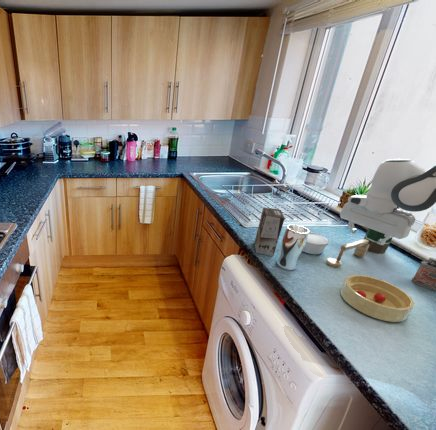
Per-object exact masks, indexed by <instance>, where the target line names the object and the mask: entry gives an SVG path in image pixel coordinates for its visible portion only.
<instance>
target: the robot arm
mask: <svg viewBox="0 0 436 430" xmlns="http://www.w3.org/2000/svg"><path fill="white" fill-rule="evenodd" d="M435 204H436V164H434V165H433V166H431V167H430V168H429V169H425V168H423V167H421V166H420V165H419V164H418V163H416V162H415V161H414V160H413V159H410V158H390V159H385V160H384V161H382V162H381V163H380V164H379V165H378V167H377V169H376V171H375V173H374V175H373V177H372V180H371V186H370V187H369V189H368V191H367V192H366V194H355V195H351V196H348V198H347V202H346V203H344V205H343V206H342V208H341V210H340V212H339V216H340V218H341V219H342V220H346V221H348V228H349V230H348V233H349V234H353V235H355V234H356V232H357V228H355V224H357V225H359V226H362V227H365V228H367V229H368V228H370V229H373V230H375V231H378V232H381V233H384V234H385V236H384V237H386V238H384V239H379V240H378V242H377V244H380V245H384V244H385V242H386V240H388V239H390V238H392V237H393V238H395V239H397V240H402V239H405V238H407V237H408V236H409V235H410V232H411V230H412V229H411V228H412V226H413V225H414V224H415V222H416V216H414V214H412V213H413V212H414V213H416V212H423V211H427V210H428V209H430V208H431V207H433V206H434V205H435ZM397 206H398V207H399V208H398V209H396V208H397ZM393 238H392V239H393Z"/></svg>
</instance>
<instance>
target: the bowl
mask: <svg viewBox="0 0 436 430" xmlns="http://www.w3.org/2000/svg"><path fill="white" fill-rule="evenodd" d="M359 290H361V291H363V292H365V293H366V298H365V297H363V296H361V295H359V294H358V293H357V292H356V291H359ZM377 293H380V294H383V295H384V296H385V301H384V302H377V301H376V300H375V299H374V295H375V294H377ZM340 295H341V297H342V298H343V300H344V301H345V302H346V303H347V304H349V306H351V307H352V308H354V309H355V310H357V311H358V312H360V313H362V314H364V315H367V316H369V317H371V318H374V319H378V320H380V321H385V322H391V323H399V322H403V321H405V320H407V318H408V317H409V315H410V314H411V312H412V310H413V309H414V305H415V301H414V300H413V298H412V296H410V295H409V294H408V293H407V292H406V291H404V290H403V289H402V288H400V287H398V286H396V285H394V284H392V283H391V282H388V281H385V280H383V279H380V278H377V277H373V276H369V275H364V274H351V275H348V276H347V277H346V278H345V280H344V282H343V284H342V286H341V288H340ZM381 304H383V305H381Z"/></svg>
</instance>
